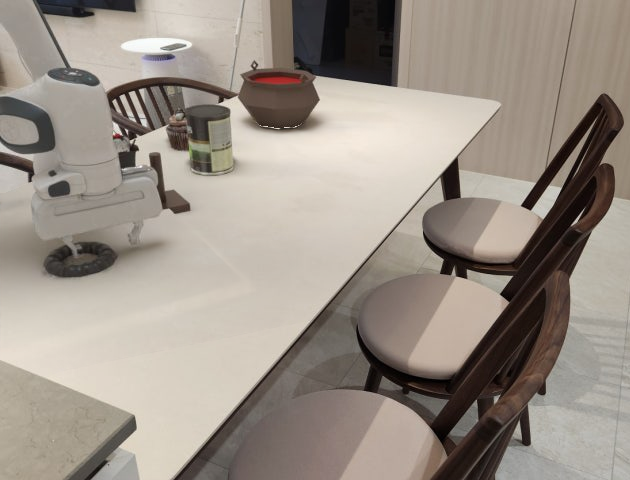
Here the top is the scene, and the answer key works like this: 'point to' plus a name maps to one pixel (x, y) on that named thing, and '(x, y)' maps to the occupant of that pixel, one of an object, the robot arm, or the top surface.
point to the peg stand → (167, 197)
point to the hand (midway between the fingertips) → (107, 249)
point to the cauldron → (278, 96)
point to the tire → (103, 261)
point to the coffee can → (209, 139)
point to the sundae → (125, 150)
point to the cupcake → (178, 130)
